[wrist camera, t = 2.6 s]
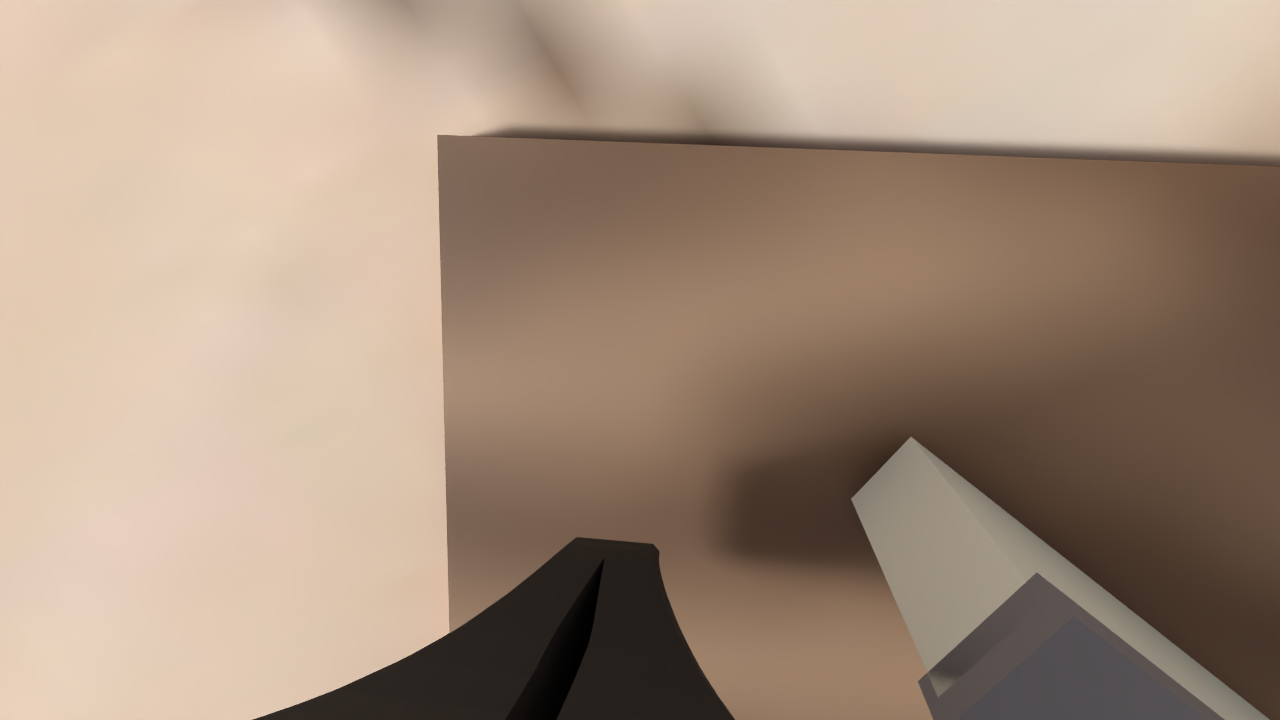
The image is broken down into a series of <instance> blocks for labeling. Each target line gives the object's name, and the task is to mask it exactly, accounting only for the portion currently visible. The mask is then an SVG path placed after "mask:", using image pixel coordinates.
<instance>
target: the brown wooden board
mask: <svg viewBox="0 0 1280 720" xmlns="http://www.w3.org/2000/svg"><path fill="white" fill-rule="evenodd" d="M437 139H438V179H439V220H440V260H441V301H442V342H443V382H444V423H445V463H446V504H447V544H448V585H449V625H450V633H451V632H452V631H454V630H456V629H457V628H459V627H460V626H462V625H463V624H465V623H467V622H468V621H469V620H471V619H472V618H474V617H475V616H477V615H478V614H479V613H481V612H482V611H484V610H485V609H486V608H488V607H489V606H491V605H492V604H494V603H495V602H496V601H498V600H499V599H501V598H502V597H503V596H505V595H506V594H508V593H509V592H510V591H511V590H513V589H514V588H515V587H516V586H518V585H519V584H520V583H521V582H523V581H524V580H525V579H527V578H528V577H529V576H530V575H531V574H533V573H534V572H535V571H536V570H537V569H539V568H540V567H541V566H542V565H543V564H545V563H546V562H547V561H548V560H549V559H550V558H552V557H553V556H554V555H555V554H556V553H558V552H559V551H560V550H561V549H562V548H564V547H565V546H566V545H567V544H568V543H570V542H571V541H572V540H573V539H575V538H576V537H582V538H594V539H605V540H617V541H628V542H639V543H651V544H654V545H655V547H656V548H657V549H658V550H659V551H660V554H659V566H660V571H661V576H662V580H663V583H664V587H665V590H666V593H667V596H668V599H669V602H670V604H671V607H672V609H673V612H674V615H675V617H676V620H677V622H678V624H679V627H680V629H681V631H682V633H683V635H684V637H685V639H686V641H687V643H688V645H689V647H690V649H691V651H692V653H693V655H694V657H695V659H696V661H697V662H698V664H699V666H700V668H701V669H702V671H703V673H704V674H705V676H706V678H707V679H708V681H709V682H710V684H711V685H712V687H713V689H714V690H715V692H716V693H717V695H718V696H719V698H720V699H721V700H722V702H723V703H724V705H725V706H726V707H727V709H728V710H729V712H730V713H731V714H732V716H733V717H734V719H735V720H933V718H932V715H931V713H930V710H929V708H928V705H927V703H926V700H925V698H924V696H923V693H922V691H921V688H920V686H919V683H918V681H919V680H920V679H921V678H922V677H923V676H924V675H925V674H926V673H927V671H926V669H925V667H924V665H923V662H922V660H921V658H920V655H919V653H918V651H917V649H916V646H915V644H914V642H913V639H912V637H911V635H910V633H909V630H908V628H907V626H906V623H905V621H904V619H903V617H902V614H901V612H900V610H899V607H898V605H897V603H896V601H895V598H894V596H893V594H892V591H891V589H890V587H889V585H888V582H887V580H886V578H885V575H884V573H883V571H882V569H881V566H880V564H879V562H878V559H877V557H876V555H875V553H874V550H873V548H872V546H871V543H870V541H869V539H868V537H867V534H866V532H865V530H864V527H863V525H862V523H861V520H860V518H859V516H858V514H857V511H856V509H855V507H854V504H853V502H852V500H851V499H852V498H853V497H854V495H855V494H856V493H857V492H858V491H859V490H860V489H861V488H862V487H863V486H864V485H865V484H866V483H867V482H868V481H869V480H870V479H871V478H872V477H873V476H874V475H875V474H876V473H877V472H878V470H879V469H880V468H881V467H882V466H883V465H884V464H885V463H886V462H887V461H888V460H889V459H890V458H891V457H892V456H893V455H894V454H895V453H896V452H897V451H898V450H899V449H900V448H901V446H902V445H903V444H904V443H905V442H906V441H907V440H908V439H909V438H910V437H912V438H913V439H915V440H916V441H917V442H919V443H920V444H921V445H922V446H924V447H925V448H926V449H927V450H929V451H930V452H931V453H932V454H934V455H935V456H936V457H938V458H939V459H940V460H941V461H943V462H944V463H945V464H946V465H948V466H949V467H950V468H951V469H953V470H954V471H955V472H957V473H958V474H959V475H960V476H962V477H963V478H964V479H965V480H967V481H968V482H969V483H970V484H972V485H973V486H974V487H976V488H977V489H978V490H979V491H981V492H982V493H983V494H984V495H986V496H987V497H988V498H989V499H991V500H992V501H993V502H995V503H996V504H997V505H998V506H1000V507H1001V508H1002V509H1003V510H1005V511H1006V512H1007V513H1009V514H1010V515H1011V516H1012V517H1014V518H1015V519H1016V520H1017V521H1019V522H1020V523H1021V524H1022V525H1024V526H1025V527H1026V528H1028V529H1029V530H1030V531H1031V532H1033V533H1034V534H1035V535H1036V536H1038V537H1039V538H1040V539H1041V540H1043V541H1044V542H1045V543H1047V544H1048V545H1049V546H1050V547H1052V548H1053V549H1054V550H1055V551H1057V552H1058V553H1059V554H1060V555H1062V556H1063V557H1064V558H1066V559H1067V560H1068V561H1069V562H1071V563H1072V564H1073V565H1074V566H1076V567H1077V568H1078V569H1080V570H1081V571H1082V572H1083V573H1085V574H1086V575H1087V576H1088V577H1090V578H1091V579H1092V580H1093V581H1095V582H1096V583H1097V584H1099V585H1100V586H1101V587H1102V588H1104V589H1105V590H1106V591H1107V592H1109V593H1110V594H1111V595H1112V596H1114V597H1115V598H1116V599H1118V600H1119V601H1120V602H1121V603H1123V604H1124V605H1125V606H1126V607H1128V608H1129V609H1130V610H1131V611H1133V612H1134V613H1135V614H1137V615H1138V616H1139V617H1140V618H1142V619H1143V620H1144V621H1145V622H1147V623H1148V624H1149V625H1150V626H1152V627H1153V628H1154V629H1156V630H1157V631H1158V632H1159V633H1161V634H1162V635H1163V636H1164V637H1166V638H1167V639H1168V640H1170V641H1171V642H1172V643H1173V644H1175V645H1176V646H1177V647H1178V648H1180V649H1181V650H1182V651H1183V652H1185V653H1186V654H1187V655H1189V656H1190V657H1191V658H1192V659H1194V660H1195V661H1196V662H1197V663H1199V664H1200V665H1201V666H1202V667H1204V668H1205V669H1206V670H1208V671H1209V672H1210V673H1211V674H1213V675H1214V676H1215V677H1216V678H1218V679H1219V680H1220V681H1221V682H1223V683H1224V684H1225V685H1227V686H1228V687H1229V688H1230V689H1232V690H1233V691H1234V692H1235V693H1237V694H1238V695H1239V696H1241V697H1242V698H1243V699H1244V700H1246V701H1247V702H1248V703H1249V704H1251V705H1252V706H1253V707H1254V708H1256V709H1257V710H1258V711H1260V712H1261V713H1262V714H1263V715H1265V716H1266V717H1267V718H1268V719H1270V720H1280V167H1278V166H1251V165H1225V164H1198V163H1171V162H1145V161H1118V160H1092V159H1065V158H1038V157H1012V156H985V155H958V154H932V153H905V152H878V151H852V150H825V149H799V148H772V147H745V146H719V145H692V144H665V143H639V142H612V141H585V140H559V139H532V138H506V137H479V136H452V135H437Z"/></svg>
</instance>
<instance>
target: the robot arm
mask: <svg viewBox="0 0 1280 720" xmlns="http://www.w3.org/2000/svg"><path fill="white" fill-rule="evenodd" d="M659 554H660V551H659V550H658V549H657V548H656V547H655V545H654V544H651V543H639V542H628V541H617V540H605V539H594V538H582V537H576V538H575V539H573V540H572V541H571V542H570V543H568V544H567V545H566V546H565V547H564V548H562V549H561V550H560V551H559V552H558V553H556V554H555V555H554V556H553V557H552V558H550V559H549V560H548V561H547V562H546V563H545V564H543V565H542V566H541V567H540V568H539V569H537V570H536V571H535V572H534V573H533V574H531V575H530V576H529V577H528V578H527V579H525V580H524V581H523V582H521V583H520V584H519V585H518V586H516V587H515V588H514V589H513V590H511V591H510V592H509V593H508V594H506V595H505V596H503V597H502V598H501V599H499V600H498V601H496V602H495V603H494V604H492V605H491V606H489V607H488V608H486V609H485V610H484V611H482V612H481V613H479V614H478V615H477V616H475V617H474V618H472V619H471V620H469V621H468V622H467V623H465V624H463V625H462V626H460V627H459V628H457V629H456V630H454V631H452V632H451V633H449V634H447V635H446V636H444V637H442V638H441V639H439V640H437V641H435V642H433V643H432V644H430V645H428V646H426V647H424V648H423V649H421V650H419V651H417V652H415V653H414V654H412V655H410V656H408V657H406V658H404V659H402V660H400V661H398V662H396V663H394V664H392V665H389V666H387V667H385V668H383V669H381V670H378V671H376V672H374V673H372V674H370V675H367V676H365V677H363V678H361V679H359V680H357V681H354V682H352V683H350V684H348V685H346V686H343V687H341V688H339V689H336V690H334V691H331V692H329V693H326V694H324V695H321V696H318V697H316V698H313V699H311V700H308V701H305V702H303V703H300V704H297V705H295V706H292V707H289V708H286V709H283V710H280V711H277V712H274V713H271V714H268V715H266V716H263V717H260V718H257V719H253V720H735V719H734V717H733V716H732V714H731V713H730V712H729V710H728V709H727V707H726V706H725V705H724V703H723V702H722V700H721V699H720V698H719V696H718V695H717V693H716V692H715V690H714V689H713V687H712V685H711V684H710V682H709V681H708V679H707V678H706V676H705V674H704V673H703V671H702V669H701V668H700V666H699V664H698V662H697V661H696V659H695V657H694V655H693V653H692V651H691V649H690V647H689V645H688V643H687V641H686V639H685V637H684V635H683V633H682V631H681V629H680V627H679V624H678V622H677V620H676V617H675V615H674V612H673V609H672V607H671V604H670V602H669V599H668V596H667V593H666V590H665V587H664V583H663V580H662V576H661V571H660V566H659Z"/></svg>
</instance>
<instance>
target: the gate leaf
mask: <svg viewBox="0 0 1280 720" xmlns="http://www.w3.org/2000/svg"><path fill="white" fill-rule="evenodd" d="M851 500H852V502H853V504H854V507H855V509H856V511H857V514H858V516H859V518H860V520H861V523H862V525H863V527H864V530H865V532H866V534H867V537H868V539H869V541H870V543H871V546H872V548H873V550H874V553H875V555H876V557H877V559H878V562H879V564H880V566H881V569H882V571H883V573H884V575H885V578H886V580H887V582H888V585H889V587H890V589H891V591H892V594H893V596H894V598H895V601H896V603H897V605H898V607H899V610H900V612H901V614H902V617H903V619H904V621H905V623H906V626H907V628H908V630H909V633H910V635H911V637H912V639H913V642H914V644H915V646H916V649H917V651H918V653H919V655H920V658H921V660H922V662H923V665H924V667H925V669H926V671H927V673H926V674H925V675H924V676H923V677H922V678H921V679H920V680H919V681H918V683H919V686H920V688H921V691H922V693H923V696H924V698H925V700H926V703H927V705H928V708H929V710H930V713H931V715H932V718H933V720H1270V719H1268V718H1267V717H1266V716H1265V715H1263V714H1262V713H1261V712H1260V711H1258V710H1257V709H1256V708H1254V707H1253V706H1252V705H1251V704H1249V703H1248V702H1247V701H1246V700H1244V699H1243V698H1242V697H1241V696H1239V695H1238V694H1237V693H1235V692H1234V691H1233V690H1232V689H1230V688H1229V687H1228V686H1227V685H1225V684H1224V683H1223V682H1221V681H1220V680H1219V679H1218V678H1216V677H1215V676H1214V675H1213V674H1211V673H1210V672H1209V671H1208V670H1206V669H1205V668H1204V667H1202V666H1201V665H1200V664H1199V663H1197V662H1196V661H1195V660H1194V659H1192V658H1191V657H1190V656H1189V655H1187V654H1186V653H1185V652H1183V651H1182V650H1181V649H1180V648H1178V647H1177V646H1176V645H1175V644H1173V643H1172V642H1171V641H1170V640H1168V639H1167V638H1166V637H1164V636H1163V635H1162V634H1161V633H1159V632H1158V631H1157V630H1156V629H1154V628H1153V627H1152V626H1150V625H1149V624H1148V623H1147V622H1145V621H1144V620H1143V619H1142V618H1140V617H1139V616H1138V615H1137V614H1135V613H1134V612H1133V611H1131V610H1130V609H1129V608H1128V607H1126V606H1125V605H1124V604H1123V603H1121V602H1120V601H1119V600H1118V599H1116V598H1115V597H1114V596H1112V595H1111V594H1110V593H1109V592H1107V591H1106V590H1105V589H1104V588H1102V587H1101V586H1100V585H1099V584H1097V583H1096V582H1095V581H1093V580H1092V579H1091V578H1090V577H1088V576H1087V575H1086V574H1085V573H1083V572H1082V571H1081V570H1080V569H1078V568H1077V567H1076V566H1074V565H1073V564H1072V563H1071V562H1069V561H1068V560H1067V559H1066V558H1064V557H1063V556H1062V555H1060V554H1059V553H1058V552H1057V551H1055V550H1054V549H1053V548H1052V547H1050V546H1049V545H1048V544H1047V543H1045V542H1044V541H1043V540H1041V539H1040V538H1039V537H1038V536H1036V535H1035V534H1034V533H1033V532H1031V531H1030V530H1029V529H1028V528H1026V527H1025V526H1024V525H1022V524H1021V523H1020V522H1019V521H1017V520H1016V519H1015V518H1014V517H1012V516H1011V515H1010V514H1009V513H1007V512H1006V511H1005V510H1003V509H1002V508H1001V507H1000V506H998V505H997V504H996V503H995V502H993V501H992V500H991V499H989V498H988V497H987V496H986V495H984V494H983V493H982V492H981V491H979V490H978V489H977V488H976V487H974V486H973V485H972V484H970V483H969V482H968V481H967V480H965V479H964V478H963V477H962V476H960V475H959V474H958V473H957V472H955V471H954V470H953V469H951V468H950V467H949V466H948V465H946V464H945V463H944V462H943V461H941V460H940V459H939V458H938V457H936V456H935V455H934V454H932V453H931V452H930V451H929V450H927V449H926V448H925V447H924V446H922V445H921V444H920V443H919V442H917V441H916V440H915V439H913V438H912V437H910V438H909V439H908V440H907V441H906V442H905V443H904V444H903V445H902V446H901V448H900V449H899V450H898V451H897V452H896V453H895V454H894V455H893V456H892V457H891V458H890V459H889V460H888V461H887V462H886V463H885V464H884V465H883V466H882V467H881V468H880V469H879V470H878V472H877V473H876V474H875V475H874V476H873V477H872V478H871V479H870V480H869V481H868V482H867V483H866V484H865V485H864V486H863V487H862V488H861V489H860V490H859V491H858V492H857V493H856V494H855V495H854V497H853V498H852V499H851Z"/></svg>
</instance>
